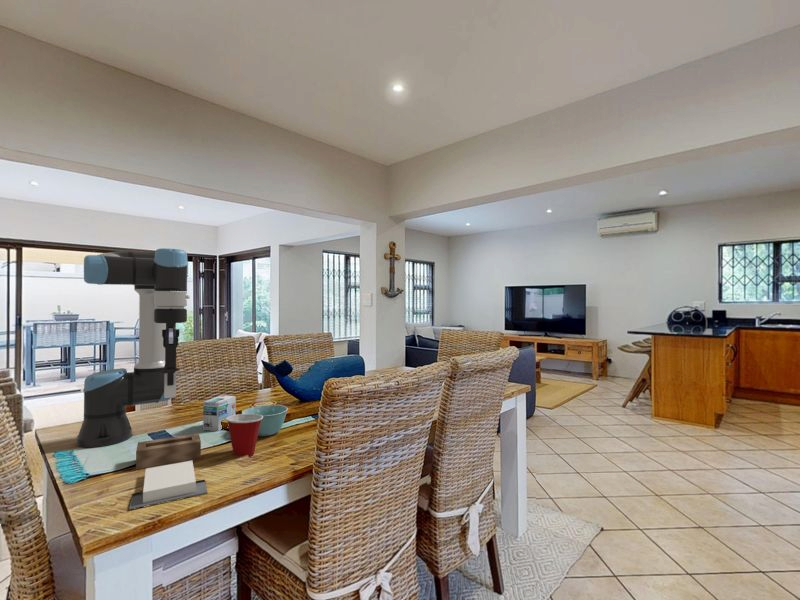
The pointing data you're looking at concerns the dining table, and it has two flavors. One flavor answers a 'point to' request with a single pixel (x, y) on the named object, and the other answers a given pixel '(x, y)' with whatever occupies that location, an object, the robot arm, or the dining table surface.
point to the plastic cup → (244, 433)
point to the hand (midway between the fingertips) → (170, 396)
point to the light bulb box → (217, 411)
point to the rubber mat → (138, 498)
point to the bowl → (269, 418)
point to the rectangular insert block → (169, 481)
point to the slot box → (168, 451)
